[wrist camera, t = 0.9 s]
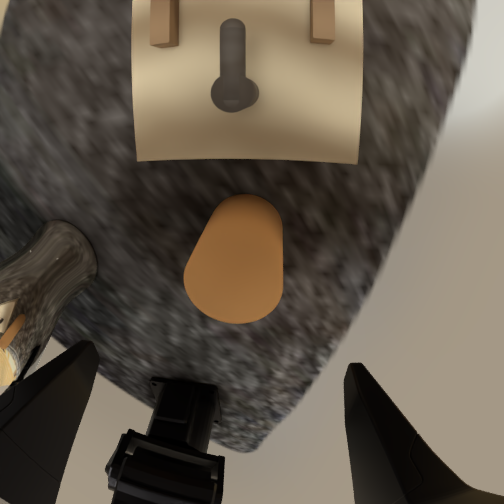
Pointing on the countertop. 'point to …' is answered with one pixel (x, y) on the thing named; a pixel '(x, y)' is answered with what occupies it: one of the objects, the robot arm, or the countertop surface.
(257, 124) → the hook board
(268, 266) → the orange rounded capsule
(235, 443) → the countertop surface
